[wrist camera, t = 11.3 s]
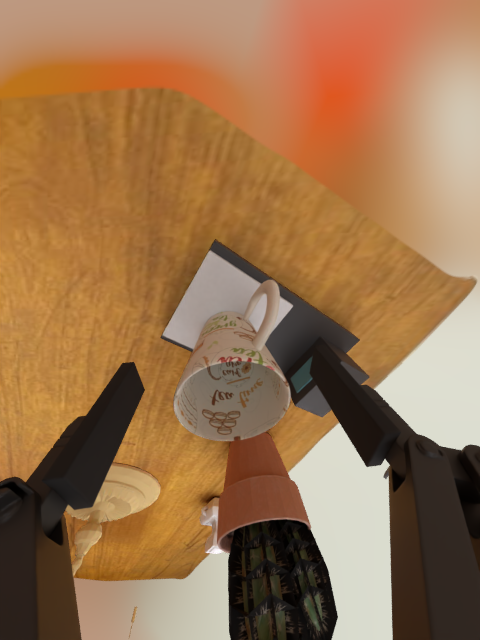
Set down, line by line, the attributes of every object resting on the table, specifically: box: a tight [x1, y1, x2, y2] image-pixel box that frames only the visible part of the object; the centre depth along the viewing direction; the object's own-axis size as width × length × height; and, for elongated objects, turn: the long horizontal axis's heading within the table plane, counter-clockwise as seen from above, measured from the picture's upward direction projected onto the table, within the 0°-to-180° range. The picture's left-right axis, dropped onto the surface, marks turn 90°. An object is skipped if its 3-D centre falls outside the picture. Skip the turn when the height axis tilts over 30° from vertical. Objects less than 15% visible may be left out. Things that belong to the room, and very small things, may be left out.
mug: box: [173, 280, 291, 441], centre depth 17 cm, size 8×13×10 cm, turn 157°
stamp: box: [200, 497, 223, 553], centre depth 44 cm, size 9×7×8 cm
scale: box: [161, 239, 369, 417], centre depth 23 cm, size 23×13×7 cm, turn 56°
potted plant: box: [217, 432, 338, 640], centre depth 27 cm, size 14×14×25 cm
